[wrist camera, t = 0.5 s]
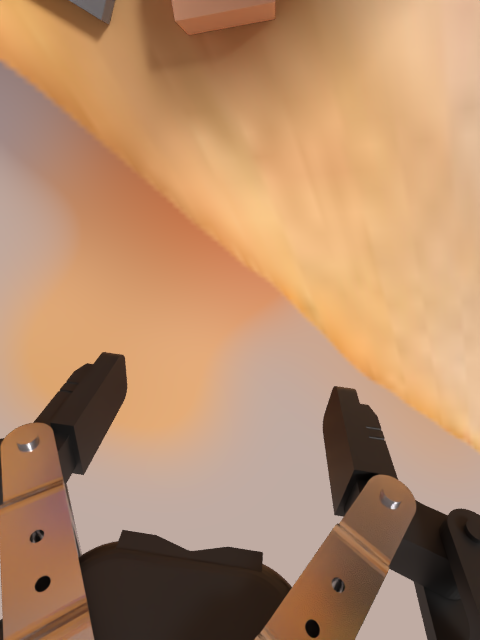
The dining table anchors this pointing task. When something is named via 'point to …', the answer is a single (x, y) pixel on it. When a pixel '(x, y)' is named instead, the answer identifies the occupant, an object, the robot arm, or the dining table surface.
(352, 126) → the dining table surface
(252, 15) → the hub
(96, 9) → the board
